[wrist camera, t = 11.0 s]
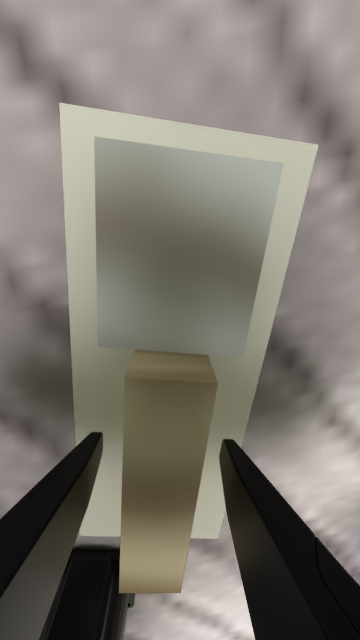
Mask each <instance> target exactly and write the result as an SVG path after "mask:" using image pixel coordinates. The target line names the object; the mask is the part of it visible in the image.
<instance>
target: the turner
mask: <svg viewBox="0 0 360 640" xmlns="http://www.w3.org/2000/svg"><path fill="white" fill-rule="evenodd" d="M94 155H95V215H96V275H97V336H98V347H107V348H120V349H134V350H135V352H134V354H133V357H132V359H131V362H130V365H129V367H128V370H127V372H126V375H125V382H124V420H123V458H122V497H121V535H120V573H119V593H181V588H182V582H183V577H184V571H185V566H186V560H187V554H188V549H189V543H190V538H191V532H192V527H193V521H194V515H195V510H196V504H197V499H198V493H199V488H200V482H201V476H202V471H203V465H204V460H205V454H206V448H207V443H208V437H209V432H210V426H211V421H212V415H213V409H214V404H215V398H216V393H217V387H218V381H217V379H216V376H215V373H214V370H213V368H212V365H211V362H210V360H209V357H208V355H214V356H228V357H241V358H243V355H244V350H245V345H246V340H247V336H248V331H249V326H250V321H251V317H252V312H253V307H254V302H255V298H256V293H257V288H258V283H259V279H260V274H261V269H262V264H263V260H264V255H265V250H266V245H267V241H268V236H269V231H270V226H271V222H272V217H273V212H274V207H275V203H276V198H277V193H278V188H279V184H280V179H281V174H282V169H283V165H284V163H279V162H272V161H265V160H258V159H251V158H244V157H237V156H230V155H223V154H216V153H209V152H202V151H195V150H188V149H180V148H173V147H166V146H159V145H152V144H145V143H138V142H131V141H124V140H117V139H110V138H103V137H96V136H94Z"/></svg>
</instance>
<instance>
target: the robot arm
mask: <svg viewBox="0 0 360 640" xmlns="http://www.w3.org/2000/svg"><path fill="white" fill-rule="evenodd" d="M102 453H103V433H102V432H91V433H90V434H89V435H88V436H86V437H85V438H84V439H83V440H82V441H81V442H80V443H79V444H78V445H77V446H76V447H75V448H74V449H73V450H72V451H71V452H70V453H69V454H68V455H67V456H66V457H65V458H64V459H62V460H61V461H60V462H59V463H58V464H57V465H56V466H55V467H54V468H53V469H52V470H51V471H50V472H49V473H48V474H47V475H46V476H45V477H44V478H43V479H42V480H41V481H40V482H38V483H37V484H36V485H35V486H34V487H33V488H32V489H31V490H30V491H29V492H28V493H27V494H26V495H25V496H24V497H23V498H22V499H21V500H20V501H19V502H18V503H17V504H16V505H14V506H13V507H12V508H11V509H10V510H9V511H8V512H7V513H6V514H5V515H4V516H3V517H2V518H1V519H0V640H123V639H124V631H125V623H126V615H127V608H131V607H133V605H134V598H135V593H119V573H120V552H96V551H72V548H73V546H74V543H75V540H76V538H77V535H78V532H79V530H80V527H81V524H82V521H83V519H84V516H85V513H86V510H87V508H88V505H89V501H90V498H91V494H92V491H93V487H94V483H95V480H96V476H97V472H98V468H99V465H100V461H101V457H102ZM219 462H220V470H221V477H222V485H223V492H224V500H225V506H226V512H227V516H228V521H229V525H230V530H231V534H232V538H233V543H234V547H235V552H236V556H237V560H238V565H239V569H240V574H241V578H242V582H243V587H244V591H245V596H246V600H247V604H248V609H249V613H250V618H251V622H252V626H253V631H254V635H255V640H360V585H359V584H358V583H357V582H356V581H355V580H354V579H353V578H352V577H351V576H350V574H349V573H348V572H347V571H346V570H345V569H344V568H343V567H342V565H341V564H340V563H339V562H338V561H337V560H336V559H335V557H334V556H333V555H332V554H331V553H330V552H329V551H328V549H327V548H326V547H325V546H324V545H323V544H322V542H321V541H320V540H319V539H318V538H317V537H315V535H314V533H313V532H312V531H311V530H310V528H309V527H308V526H307V525H306V524H305V523H304V521H303V520H302V519H301V518H300V517H299V515H298V514H297V513H296V512H295V511H294V510H293V508H292V507H291V506H290V505H289V504H288V503H287V501H286V500H285V499H284V498H283V497H282V496H281V494H280V493H279V492H278V491H277V490H276V489H275V487H274V486H273V485H272V484H271V483H270V481H269V480H268V479H267V478H266V477H265V476H264V474H263V473H262V472H261V471H260V470H259V469H258V467H257V466H256V465H255V464H254V463H253V462H252V460H251V459H250V458H249V457H248V456H247V454H246V453H245V452H244V451H243V450H242V449H241V447H240V446H239V445H238V444H237V443H236V442H235V440H233V439H223V441H222V444H221V449H220V454H219Z"/></svg>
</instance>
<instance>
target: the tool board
mask: <svg viewBox="0 0 360 640" xmlns="http://www.w3.org/2000/svg"><path fill="white" fill-rule="evenodd" d="M59 105H60V126H61V147H62V169H63V190H64V211H65V232H66V254H67V275H68V296H69V317H70V339H71V360H72V381H73V402H74V424H75V445H76V446H77V445H78V444H79V443H80V442H81V441H82V440H83V439H84V438H85V437H86V436H88V435H89V434H90V433H91V432H102V433H103V453H102V457H101V461H100V465H99V468H98V472H97V476H96V480H95V483H94V487H93V491H92V494H91V498H90V501H89V505H88V508H87V510H86V513H85V516H84V519H83V521H82V524H81V527H80V536H104V537H120V535H121V497H122V458H123V420H124V382H125V375H126V372H127V370H128V367H129V365H130V362H131V359H132V357H133V354H134V352H135V350H134V349H120V348H107V347H98V336H97V275H96V215H95V155H94V136H96V137H103V138H110V139H117V140H124V141H131V142H138V143H145V144H152V145H159V146H166V147H173V148H180V149H188V150H195V151H202V152H209V153H216V154H223V155H230V156H237V157H244V158H251V159H258V160H265V161H272V162H279V163H284V165H283V169H282V174H281V179H280V184H279V188H278V193H277V198H276V203H275V207H274V212H273V217H272V222H271V226H270V231H269V236H268V241H267V245H266V250H265V255H264V260H263V264H262V269H261V274H260V279H259V283H258V288H257V293H256V298H255V302H254V307H253V312H252V317H251V321H250V326H249V331H248V336H247V340H246V345H245V350H244V355H243V358H241V357H228V356H214V355H208V357H209V360H210V362H211V365H212V368H213V370H214V373H215V376H216V379H217V381H218V387H217V393H216V398H215V404H214V409H213V415H212V421H211V426H210V432H209V437H208V443H207V448H206V454H205V460H204V465H203V471H202V476H201V482H200V488H199V493H198V499H197V504H196V510H195V515H194V521H193V527H192V532H191V538H204V539H218V537H219V533H220V529H221V525H222V522H223V518H224V514H225V510H226V506H225V500H224V492H223V485H222V477H221V470H220V462H219V454H220V449H221V444H222V441H223V439H233V440H235V442H236V443H237V444H238V445H239V446H240V447H242V443H243V439H244V435H245V431H246V427H247V423H248V420H249V416H250V412H251V408H252V404H253V400H254V396H255V392H256V388H257V384H258V380H259V376H260V372H261V369H262V365H263V361H264V357H265V353H266V349H267V345H268V341H269V337H270V333H271V329H272V325H273V321H274V318H275V314H276V310H277V306H278V302H279V298H280V294H281V290H282V286H283V282H284V278H285V274H286V270H287V267H288V263H289V259H290V255H291V251H292V247H293V243H294V239H295V235H296V231H297V227H298V223H299V219H300V216H301V212H302V208H303V204H304V200H305V196H306V192H307V188H308V184H309V180H310V176H311V172H312V168H313V165H314V161H315V157H316V153H317V149H318V145H317V144H311V143H304V142H298V141H292V140H286V139H280V138H274V137H267V136H261V135H255V134H249V133H243V132H237V131H230V130H224V129H218V128H212V127H206V126H200V125H193V124H187V123H181V122H175V121H169V120H163V119H156V118H150V117H144V116H138V115H132V114H126V113H120V112H113V111H107V110H101V109H95V108H89V107H83V106H76V105H70V104H64V103H59Z"/></svg>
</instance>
